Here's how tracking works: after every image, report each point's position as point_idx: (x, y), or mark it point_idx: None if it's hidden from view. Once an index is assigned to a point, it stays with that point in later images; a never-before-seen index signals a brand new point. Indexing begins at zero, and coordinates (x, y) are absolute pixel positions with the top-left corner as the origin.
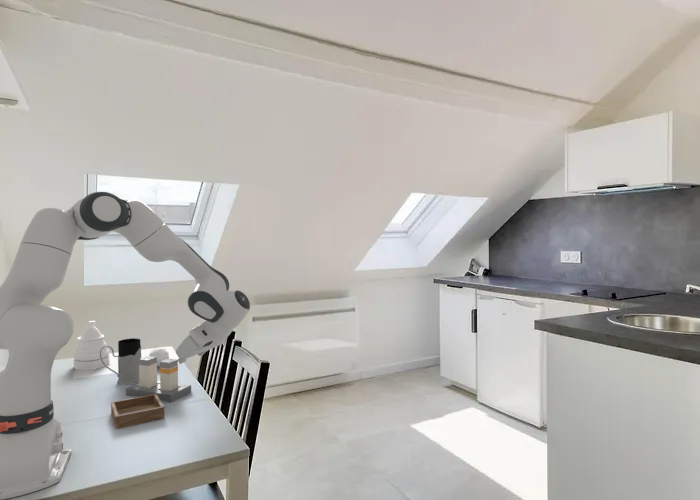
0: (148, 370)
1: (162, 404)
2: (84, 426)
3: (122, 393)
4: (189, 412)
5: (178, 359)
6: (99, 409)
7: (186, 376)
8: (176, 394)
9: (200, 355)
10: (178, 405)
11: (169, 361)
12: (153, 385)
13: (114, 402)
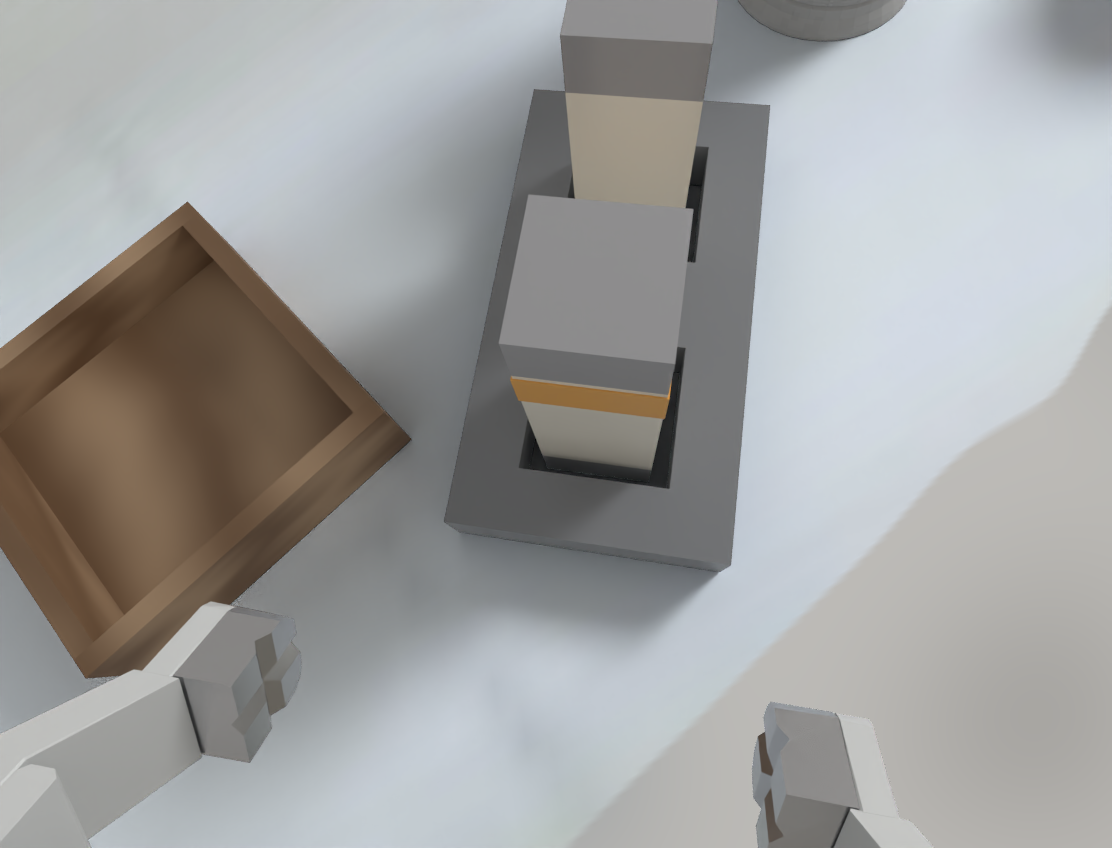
0: (571, 130)
1: (140, 626)
2: (45, 236)
3: None
4: (277, 823)
5: (191, 624)
6: (289, 142)
7: (1078, 299)
8: (520, 536)
9: (755, 793)
10: (412, 632)
11: (566, 304)
12: None
13: (184, 227)
